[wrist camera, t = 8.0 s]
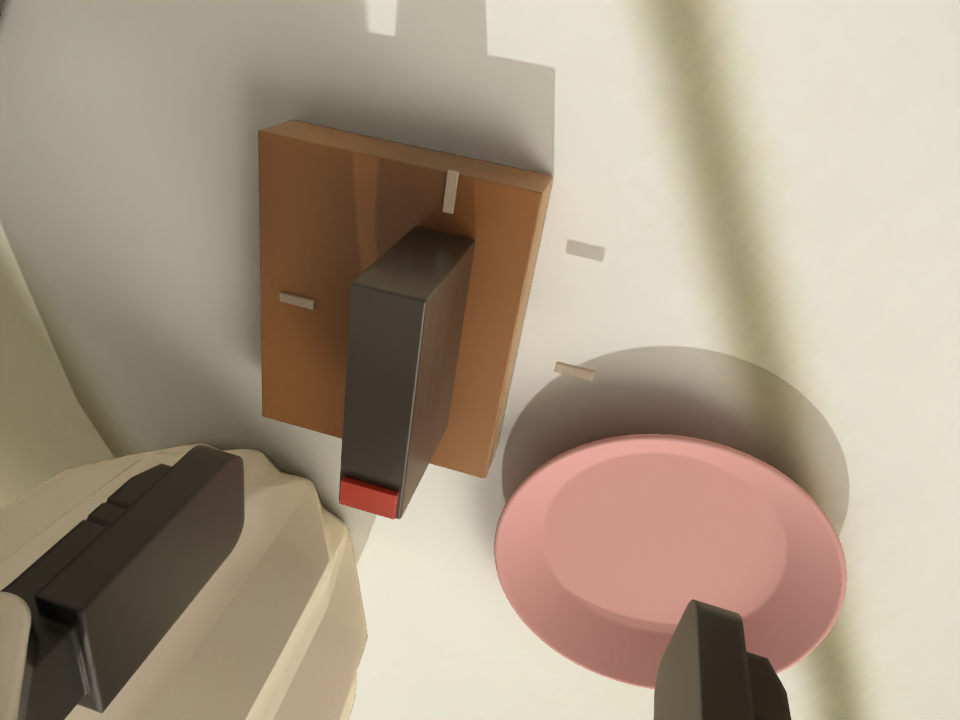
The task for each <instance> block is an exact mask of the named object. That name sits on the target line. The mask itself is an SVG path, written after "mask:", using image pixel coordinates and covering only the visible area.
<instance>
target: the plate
mask: <svg viewBox="0 0 960 720" xmlns="http://www.w3.org/2000/svg"><path fill="white" fill-rule="evenodd" d="M494 555H495V564H496V569H497V573H498V577H499V580H500V583H501V586H502V588H503V590H504V593H505V595H506V597H507V599H508V600H509V602H510V604H511V605H512V607H513V608H514V610H515V611H516V613H517V614H518V616H519V617H520V618H521V619H522V621H523V622H524V623H525V624H526V625H527V626H528V627H529V628H530V630H531V631H532V632H534V633H535V634H536V635H537V636H538V637H539V638H540V639H541V640H542V641H543V642H545V643H546V644H547V645H548V646H550V647H551V648H552V649H554V650H555V651H557V652H558V653H559V654H561V655H562V656H564V657H566V658H567V659H569V660H571V661H572V662H574V663H576V664H578V665H580V666H582V667H584V668H586V669H588V670H590V671H592V672H595V673H597V674H600V675H602V676H605V677H608V678H610V679H613V680H616V681H620V682H623V683H627V684H631V685H635V686H639V687H644V688H650V689H655V684H656V678H657V673H658V669H659V665H660V662H661V659H662V657H663V654H664V652H665V650H666V648H667V646H668V644H669V642H670V640H671V638H672V636H673V634H674V631H675V629H676V627H677V625H678V623H679V621H680V619H681V617H682V615H683V613H684V611H685V609H686V607H687V605H688V603H689V602H690V601H691V600H692V599H694V600H697V601H700V602H704V603H707V604H710V605H713V606H716V607H720V608H723V609H726V610H729V611H733V612H736V613H739V614H740V616H741V618H742V621H743V627H744V636H745V644H746V652H750V653H753V654H756V655H759V656H762V657H765V658H768V660H769V661H770V663H771V665H772V667H773V669H774V670H775V672H776V674H777V673H779V672H782V671H783V670H785V669H787V668H789V667H791V666H792V665H794V664H795V663H797V662H798V661H800V660H801V659H803V658H804V657H805V656H806V655H808V654H809V653H810V652H811V651H812V650H813V649H814V648H815V647H817V646H818V644H819V643H820V642H821V641H822V640H823V639H824V638H825V636H826V635H827V634H828V633H829V631H830V630H831V628H832V627H833V625H834V623H835V621H836V620H837V617H838V615H839V613H840V610H841V608H842V605H843V601H844V597H845V592H846V583H847V571H846V562H845V557H844V553H843V549H842V546H841V543H840V540H839V538H838V536H837V534H836V531H835V529H834V528H833V526H832V524H831V522H830V521H829V519H828V518H827V516H826V515H825V513H824V512H823V510H822V509H821V508H820V507H819V505H818V504H817V503H816V502H815V501H814V500H813V498H812V497H811V496H810V495H809V494H808V493H807V492H806V491H805V490H803V489H802V488H801V487H800V486H799V485H798V484H797V483H795V482H794V481H793V480H791V479H790V478H789V477H788V476H786V475H785V474H783V473H782V472H780V471H779V470H777V469H776V468H774V467H772V466H771V465H769V464H767V463H765V462H763V461H762V460H760V459H758V458H756V457H754V456H751V455H749V454H747V453H745V452H742V451H740V450H737V449H734V448H731V447H729V446H726V445H722V444H719V443H715V442H712V441H707V440H703V439H698V438H693V437H687V436H680V435H669V434H633V435H623V436H616V437H610V438H605V439H600V440H597V441H593V442H589V443H586V444H583V445H580V446H577V447H575V448H572V449H570V450H568V451H565V452H563V453H561V454H559V455H557V456H555V457H554V458H552V459H550V460H549V461H547V462H545V463H544V464H542V465H541V466H540V467H538V468H537V469H536V470H534V471H533V472H532V473H531V474H530V475H529V476H527V477H526V478H525V479H524V480H523V481H522V482H521V484H520V485H519V486H518V487H517V488H516V489H515V491H514V492H513V493H512V495H511V496H510V498H509V499H508V501H507V503H506V505H505V507H504V509H503V511H502V513H501V516H500V518H499V521H498V525H497V529H496V534H495V543H494Z"/></svg>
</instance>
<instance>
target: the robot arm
mask: <svg viewBox="0 0 960 720" xmlns="http://www.w3.org/2000/svg"><path fill="white" fill-rule="evenodd" d="M3 3H4V0H0V15H1V12H2V8H3ZM244 519H245V509H244V464H243V460H242V458H241V457H240V456H237V455H234V454H231V453H228V452H224V451H221V450H218V449H215V448H212V447H208V446H205V445H197V446H195V447H193V448H192V449H191V450H189V451H188V452H187V453H186V454H185V455H184V456H183V457H182V458H181V459H180V460H179V461H178V462H177V463H175V464H174V465H173V466H172V467H171V466H168V465H165V464H162V463H161V464H159V465H157V466H155V467H153V468H151V469H148V470H146V471H144V472H142V473H140V474H138V475H136V476H134V477H131V478H130V479H129V480H128V481H127V482H125V483H124V484H123V485H122V486H121V487H120V488H119V489H117V490H116V491H115V492H114V493H113V494H112V495H111V496H109V497H108V498H107V501H106V503H101V504H100V505H99V506H98V507H97V508H96V509H95V510H93V511H92V512H91V513H90V514H89V515H88V518H87V519H86V520H82V521H81V522H80V523H79V524H77V525H76V526H75V527H74V528H73V529H72V530H71V531H69V532H68V533H67V534H66V535H65V536H64V537H63V538H61V539H60V540H59V541H58V542H57V543H56V544H55V545H53V546H52V547H51V548H50V549H49V550H48V551H47V552H45V553H44V554H43V555H42V556H41V557H40V558H39V559H37V560H36V561H35V562H34V563H33V564H32V565H31V566H29V567H28V568H27V569H26V570H25V571H24V572H23V573H21V574H20V575H19V576H18V577H17V578H16V579H15V580H13V581H12V582H11V583H10V584H9V585H7V586H6V587H5V588H4V589H2V590H1V591H0V720H65V718H66V717H67V716H68V715H69V714H70V712H71V711H72V710H73V709H74V708H75V707H76V705H77V704H78V705H80V706H83V707H86V708H88V709H91V710H94V711H96V712H99V713H101V714H102V713H103V712H104V711H105V710H106V708H107V707H108V706H109V705H110V703H111V702H112V701H113V700H114V698H115V697H116V696H117V695H118V693H119V692H120V691H121V690H122V688H123V687H124V686H125V685H126V683H127V682H128V681H129V680H130V678H131V677H132V676H133V675H134V673H135V672H136V671H137V670H138V668H139V667H140V666H141V665H142V663H143V662H144V661H145V660H146V658H147V657H148V656H149V655H150V653H151V652H152V651H153V650H154V648H155V647H156V646H157V645H158V643H159V642H160V641H161V640H162V638H163V637H164V636H165V635H166V633H167V632H168V631H169V630H170V628H171V627H172V626H173V625H174V623H175V622H176V621H177V620H178V618H179V617H180V616H181V615H182V613H183V612H184V611H185V610H186V608H187V607H188V606H189V605H190V603H191V602H192V601H193V600H194V599H195V597H196V596H197V595H198V594H199V592H200V591H201V590H202V589H203V587H204V586H205V585H206V584H207V582H208V581H209V580H210V579H211V577H212V576H213V575H214V574H215V572H216V571H217V570H218V569H219V567H220V566H221V565H222V564H223V562H224V561H225V560H226V559H227V557H228V556H229V555H230V554H231V552H232V551H233V549H234V548H235V546H236V544H237V542H238V540H239V538H240V535H241V533H242V529H243V526H244ZM654 720H791V716H790V710H789V704H788V698H787V693H786V691H785V689H784V687H783V685H782V683H781V681H780V680H779V678H778V676H777V674H776V672H775V670H774V669H773V667H772V665H771V663H770V661H769V660H768V658H765V657H762V656H759V655H756V654H753V653H750V652H746V644H745V636H744V627H743V621H742V618H741V616H740V614H739V613H736V612H733V611H729V610H726V609H723V608H720V607H716V606H713V605H710V604H707V603H704V602H700V601H697V600H694V599H692V600H691V601H690V602H689V603H688V605H687V607H686V609H685V611H684V613H683V615H682V617H681V619H680V621H679V623H678V625H677V627H676V629H675V631H674V634H673V636H672V638H671V640H670V642H669V644H668V646H667V648H666V650H665V652H664V654H663V657H662V659H661V662H660V665H659V669H658V673H657V678H656V684H655V694H654Z"/></svg>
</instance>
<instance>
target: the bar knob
mask: <svg viewBox="0 0 960 720" xmlns="http://www.w3.org/2000/svg"><path fill="white" fill-rule="evenodd" d="M474 247H475V240H474V239H470V238H466V237H461V236H457V235H453V234H448V233H444V232H439V231H435V230H431V229H426V228H422V227H418V226H415V227H413V228H412V229H411V230H410V231H409V232H408V233H407V234H406V235H404V236H403V237H402V238H401V239H400V240H399V241H398V242H396V243H395V244H394V245H393V246H392V247H391V248H390V249H389V250H387V251H386V252H385V253H384V254H383V255H382V256H381V257H380V258H378V259H377V260H376V261H375V262H374V263H373V264H372V265H370V266H369V267H368V268H367V269H366V270H365V271H364V272H363V273H361V274H360V275H359V276H358V277H357V278H356V279H355V280H354V281H352V283H351V291H350V309H349V327H348V345H347V363H346V381H345V400H344V418H343V436H342V454H341V472H340V490H339V501H340V504H343V505H346V506H350V507H353V508H357V509H360V510H363V511H367V512H370V513H374V514H377V515H380V516H384V517H387V518H391V519H394V518H397V519H400V518H401V517H402V515H403V513H404V511H405V509H406V507H407V505H408V503H409V502H410V500H411V498H412V496H413V494H414V492H415V490H416V488H417V486H418V484H419V482H420V480H421V478H422V476H423V474H424V472H425V470H426V468H427V466H428V464H429V462H430V460H431V459H432V457H433V455H434V453H435V451H436V449H437V447H438V445H439V443H440V441H441V439H442V437H443V435H444V433H445V431H446V429H447V425H448V418H449V411H450V405H451V398H452V392H453V385H454V379H455V372H456V365H457V359H458V352H459V346H460V339H461V333H462V326H463V319H464V313H465V306H466V300H467V293H468V287H469V280H470V273H471V267H472V260H473V254H474Z"/></svg>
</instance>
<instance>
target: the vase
mask: <svg viewBox="0 0 960 720" xmlns="http://www.w3.org/2000/svg"><path fill="white" fill-rule="evenodd" d="M197 445H205V446H208V447H212V448H215V449H218V448H216V447H213V446H211V445H208V444H203V443H197V444H190V445H183V446H177V447H172V448H166V449H161V450H155V451H150V452H144V453H139V454H134V455H128V456H123V457H118V458H113V459H108V460H103V461H97V462H92V463H88V464H83V465H79V466H74V467H70V468H68V469H66V470H64V471H62V472H60V473H58V474H57V475H55V476H54V477H52V478H50V479H49V480H47V481H46V482H44V483H43V484H41V485H39V486H38V487H36V488H35V489H33V490H31V491H30V492H28V493H27V494H25V495H24V496H22V497H20V498H19V499H17V500H16V501H14V502H13V503H11V504H9V505H8V506H6V507H5V508H3V509H1V510H0V591H1V590H2V589H4V588H5V587H6V586H7V585H9V584H10V583H11V582H12V581H13V580H15V579H16V578H17V577H18V576H19V575H20V574H21V573H23V572H24V571H25V570H26V569H27V568H28V567H29V566H31V565H32V564H33V563H34V562H35V561H36V560H37V559H39V558H40V557H41V556H42V555H43V554H44V553H45V552H47V551H48V550H49V549H50V548H51V547H52V546H53V545H55V544H56V543H57V542H58V541H59V540H60V539H61V538H63V537H64V536H65V535H66V534H67V533H68V532H69V531H71V530H72V529H73V528H74V527H75V526H76V525H77V524H79V523H80V522H81V521H82V520H86V519H87V518H88V515H89V514H90V513H91V512H92V511H93V510H95V509H96V508H97V507H98V506H99V505H100V504H101V503H106V501H107V498H108V497H109V496H111V495H112V494H113V493H114V492H115V491H116V490H117V489H119V488H120V487H121V486H122V485H123V484H124V483H125V482H127V481H128V480H129V479H130V478H131V477H134V476H136V475H138V474H140V473H142V472H144V471H146V470H148V469H151V468H153V467H155V466H157V465H159V464H161V463H162V464H165V465H168V466H171V467H172V466H173V465H174V464H175V463H177V462H178V461H179V460H180V459H181V458H182V457H183V456H184V455H185V454H186V453H187V452H188V451H189V450H191V449H192V448H193V447H195V446H197ZM218 450H220V449H218ZM221 451H224V452H228V453H231V454H234V455H237V456H240V457H241V458H242V460H243V464H244V509H245V519H244V526H243V529H242V533H241V535H240V538H239V540H238V542H237V544H236V546H235V548H234V549H233V551H232V552H231V554H230V555H229V556H228V557H227V559H226V560H225V561H224V562H223V564H222V565H221V566H220V567H219V569H218V570H217V571H216V572H215V574H214V575H213V576H212V577H211V579H210V580H209V581H208V582H207V584H206V585H205V586H204V587H203V589H202V590H201V591H200V592H199V594H198V595H197V596H196V597H195V599H194V600H193V601H192V602H191V603H190V605H189V606H188V607H187V608H186V610H185V611H184V612H183V613H182V615H181V616H180V617H179V618H178V620H177V621H176V622H175V623H174V625H173V626H172V627H171V628H170V630H169V631H168V632H167V633H166V635H165V636H164V637H163V638H162V640H161V641H160V642H159V643H158V645H157V646H156V647H155V648H154V650H153V651H152V652H151V653H150V655H149V656H148V657H147V658H146V660H145V661H144V662H143V663H142V665H141V666H140V667H139V668H138V670H137V671H136V672H135V673H134V675H133V676H132V677H131V678H130V680H129V681H128V682H127V683H126V685H125V686H124V687H123V688H122V690H121V691H120V692H119V693H118V695H117V696H116V697H115V698H114V700H113V701H112V702H111V703H110V705H109V706H108V707H107V708H106V710H105V711H104V712H103V713H102V714H101V713H99V712H96V711H94V710H91V709H88V708H86V707H83V706H80V705H78V704H77V705H76V707H75V708H74V709H73V710H72V711H71V712H70V714H69V715H68V716H67V717H66V718H65V720H349V718H350V715H351V712H352V709H353V705H354V701H355V697H356V684H357V669H358V666H359V663H360V660H361V657H362V654H363V652H364V649H365V645H366V642H367V638H368V634H367V626H366V620H365V614H364V608H363V602H362V597H361V591H360V585H359V579H358V573H357V568H356V562H355V557H354V551H353V546H352V541H351V537H350V533H349V529H348V527H347V526H346V524H345V523H344V522H343V521H342V520H340V519H339V518H338V517H336V516H335V515H334V514H332V513H331V512H329V511H328V510H326V509H325V508H324V507H323V506H322V505H321V502H320V499H319V496H318V493H317V491H316V488H315V485H314V484H313V482H312V481H310V480H309V479H307V478H303V477H300V476H296V475H291V474H287V473H284V472H282V471H280V470H279V469H278V468H277V467H276V466H275V465H274V464H273V463H272V462H271V461H270V460H269V459H268V458H267V457H266V456H265V455H264V454H263V453H262V452H260V451H258V450H254V449H238V450H221Z"/></svg>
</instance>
